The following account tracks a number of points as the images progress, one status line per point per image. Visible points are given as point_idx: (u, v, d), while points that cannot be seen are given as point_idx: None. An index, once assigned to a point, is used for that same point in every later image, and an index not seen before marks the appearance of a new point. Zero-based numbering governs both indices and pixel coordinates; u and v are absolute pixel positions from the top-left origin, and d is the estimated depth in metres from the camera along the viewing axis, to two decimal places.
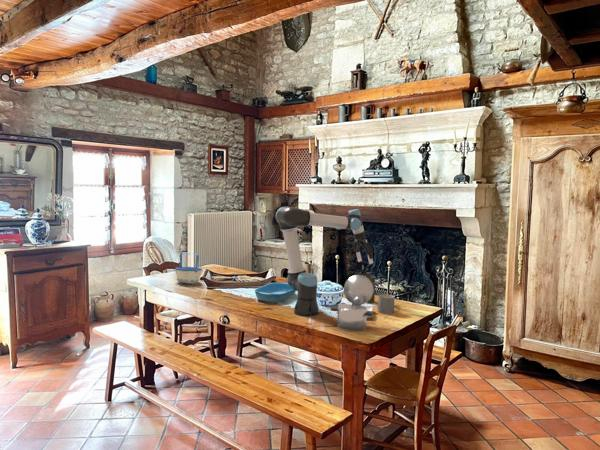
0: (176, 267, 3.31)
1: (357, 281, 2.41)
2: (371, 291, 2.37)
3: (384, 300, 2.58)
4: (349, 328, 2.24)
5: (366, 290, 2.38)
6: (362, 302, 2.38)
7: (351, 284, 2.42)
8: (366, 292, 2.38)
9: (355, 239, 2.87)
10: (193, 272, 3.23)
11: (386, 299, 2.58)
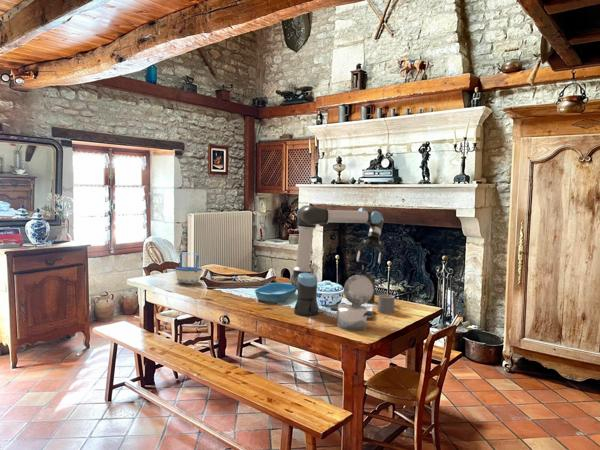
0: (176, 267, 3.30)
1: (357, 281, 2.41)
2: (371, 291, 2.37)
3: (384, 300, 2.58)
4: (349, 328, 2.24)
5: (366, 290, 2.38)
6: (362, 302, 2.38)
7: (351, 284, 2.42)
8: (366, 292, 2.38)
9: (364, 240, 2.71)
10: (193, 272, 3.23)
11: (386, 299, 2.58)
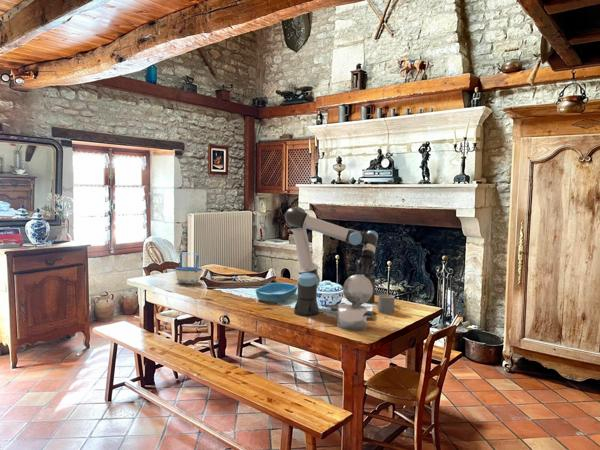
0: (176, 267, 3.31)
1: (356, 281, 2.39)
2: (371, 291, 2.36)
3: (384, 300, 2.58)
4: (349, 328, 2.24)
5: (365, 290, 2.37)
6: (362, 302, 2.37)
7: (350, 284, 2.41)
8: (366, 292, 2.37)
9: (357, 261, 2.53)
10: (193, 272, 3.23)
11: (386, 299, 2.58)
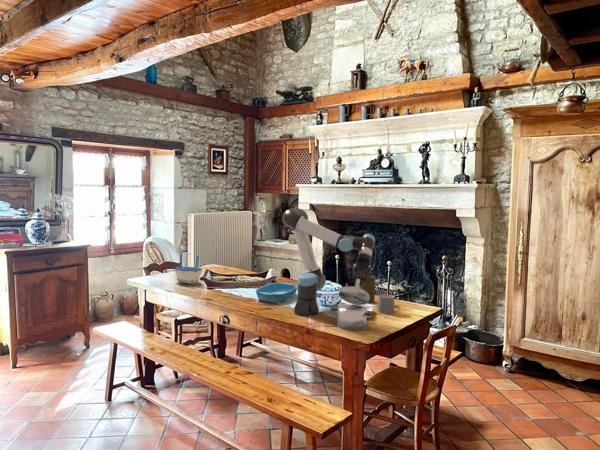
0: (176, 267, 3.30)
1: (351, 292, 2.30)
2: (367, 298, 2.30)
3: (384, 300, 2.58)
4: (349, 328, 2.24)
5: (362, 297, 2.31)
6: (361, 303, 2.36)
7: (345, 293, 2.32)
8: (363, 298, 2.31)
9: (353, 264, 2.45)
10: (193, 272, 3.23)
11: (386, 299, 2.58)
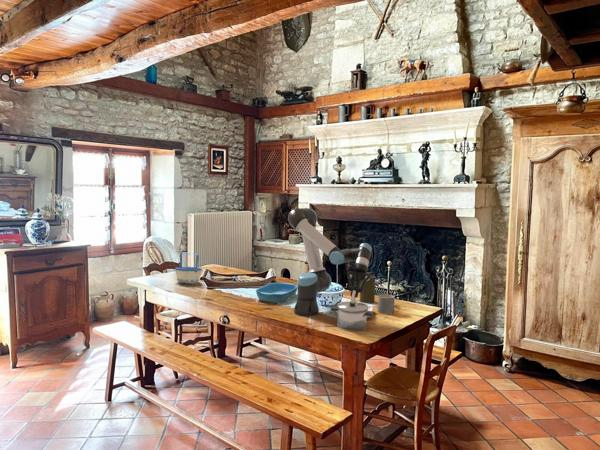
0: (176, 267, 3.30)
1: None
2: None
3: (384, 300, 2.58)
4: (349, 328, 2.24)
5: None
6: None
7: None
8: None
9: (349, 275, 2.39)
10: (193, 272, 3.23)
11: (386, 299, 2.58)
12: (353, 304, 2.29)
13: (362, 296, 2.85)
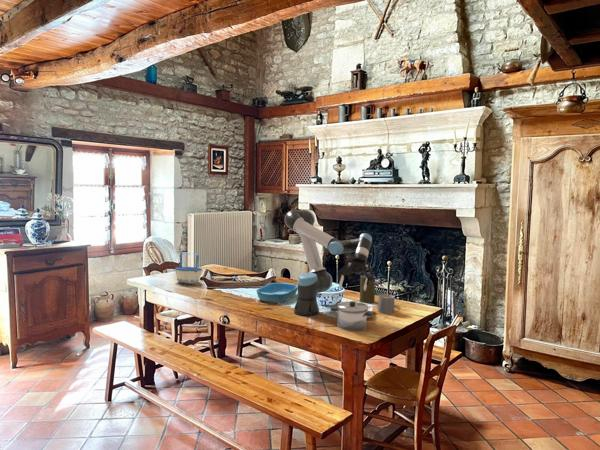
0: (176, 267, 3.31)
1: None
2: None
3: (384, 300, 2.58)
4: (349, 328, 2.24)
5: None
6: None
7: None
8: None
9: None
10: (193, 272, 3.23)
11: (386, 299, 2.58)
12: (353, 304, 2.29)
13: (362, 296, 2.85)
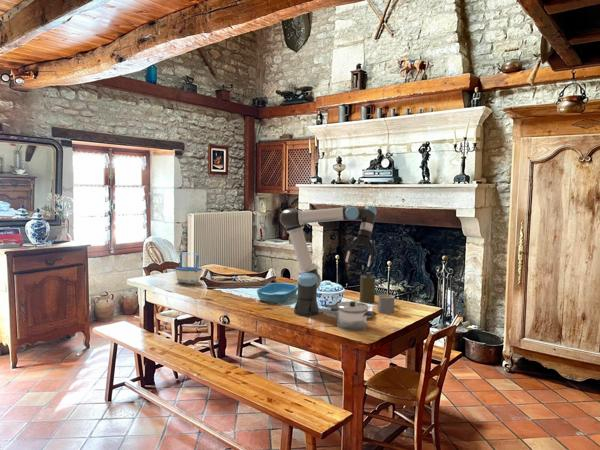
0: (176, 267, 3.31)
1: None
2: None
3: (384, 300, 2.58)
4: (349, 328, 2.24)
5: None
6: None
7: None
8: None
9: (354, 237, 2.57)
10: (193, 272, 3.23)
11: (386, 299, 2.58)
12: (353, 304, 2.29)
13: (362, 296, 2.85)
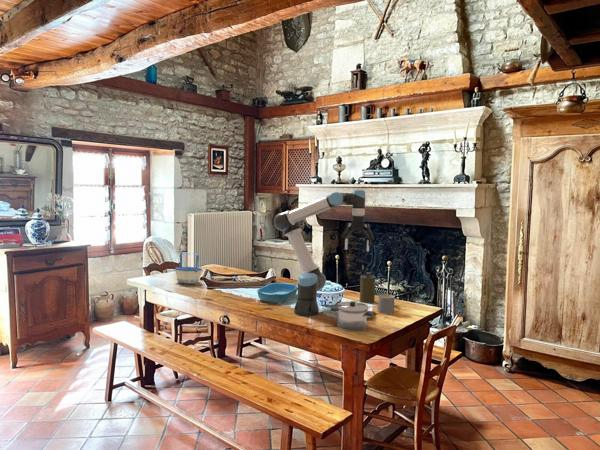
0: (176, 267, 3.30)
1: None
2: None
3: (384, 300, 2.58)
4: (349, 328, 2.24)
5: None
6: None
7: None
8: None
9: None
10: (193, 272, 3.23)
11: (386, 299, 2.58)
12: (353, 304, 2.29)
13: (362, 296, 2.85)
